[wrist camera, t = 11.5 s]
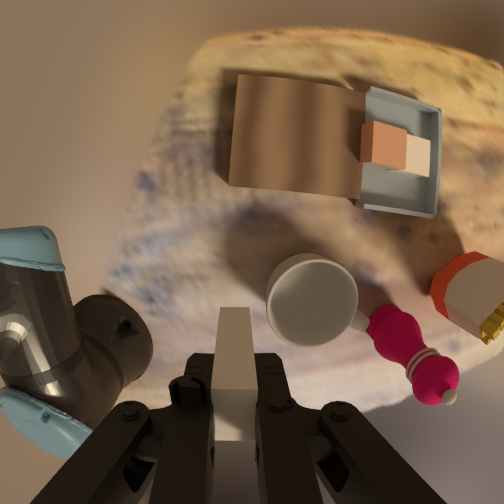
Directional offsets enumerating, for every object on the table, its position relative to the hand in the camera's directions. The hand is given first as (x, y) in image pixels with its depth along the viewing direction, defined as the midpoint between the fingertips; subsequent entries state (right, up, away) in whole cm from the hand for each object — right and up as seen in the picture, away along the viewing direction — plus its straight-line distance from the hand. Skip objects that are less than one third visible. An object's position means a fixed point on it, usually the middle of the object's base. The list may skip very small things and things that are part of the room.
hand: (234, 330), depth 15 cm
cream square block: (+22, +17, +19) cm, 34 cm away
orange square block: (+17, +17, +17) cm, 30 cm away
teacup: (+9, -1, +25) cm, 26 cm away
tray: (+21, +18, +20) cm, 34 cm away
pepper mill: (+22, -7, +26) cm, 35 cm away
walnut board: (+7, +19, +20) cm, 28 cm away
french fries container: (+33, 0, +25) cm, 41 cm away
